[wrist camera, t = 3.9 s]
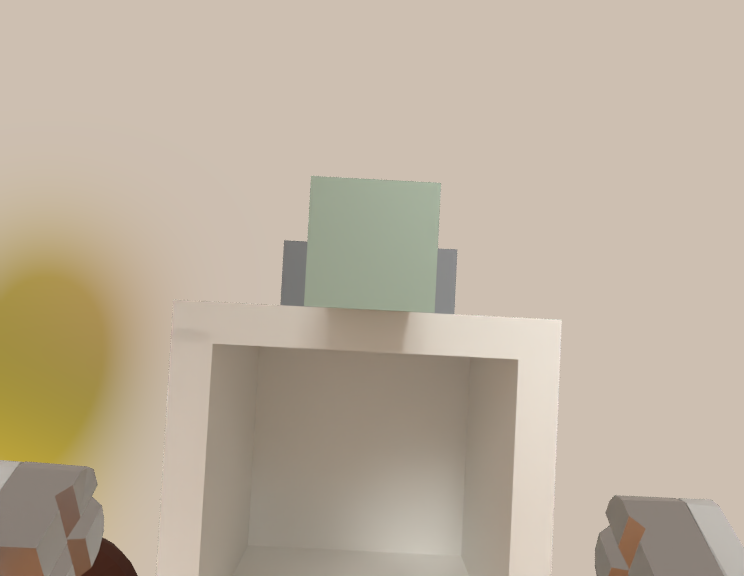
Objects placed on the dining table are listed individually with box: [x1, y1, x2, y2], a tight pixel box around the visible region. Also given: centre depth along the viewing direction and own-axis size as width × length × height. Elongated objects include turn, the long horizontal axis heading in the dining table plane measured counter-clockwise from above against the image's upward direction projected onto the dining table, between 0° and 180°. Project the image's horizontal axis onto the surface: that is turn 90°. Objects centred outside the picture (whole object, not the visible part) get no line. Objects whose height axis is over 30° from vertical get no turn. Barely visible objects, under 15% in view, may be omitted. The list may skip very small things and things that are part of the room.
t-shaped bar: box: [281, 176, 457, 314], centre depth 24 cm, size 18×8×3 cm, turn 1°
